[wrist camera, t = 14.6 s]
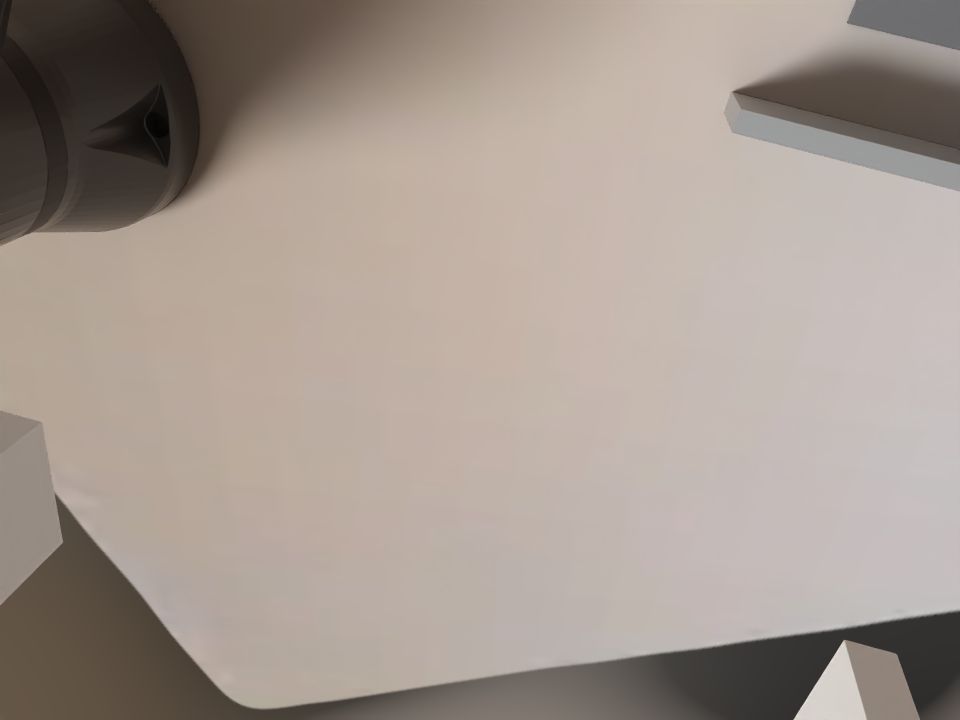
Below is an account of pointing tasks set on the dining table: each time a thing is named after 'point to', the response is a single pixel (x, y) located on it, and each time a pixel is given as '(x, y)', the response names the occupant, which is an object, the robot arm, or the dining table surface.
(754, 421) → the dining table surface
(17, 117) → the robot arm
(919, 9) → the rest mat
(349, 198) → the dining table surface
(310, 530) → the dining table surface
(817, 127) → the acrylic wall
